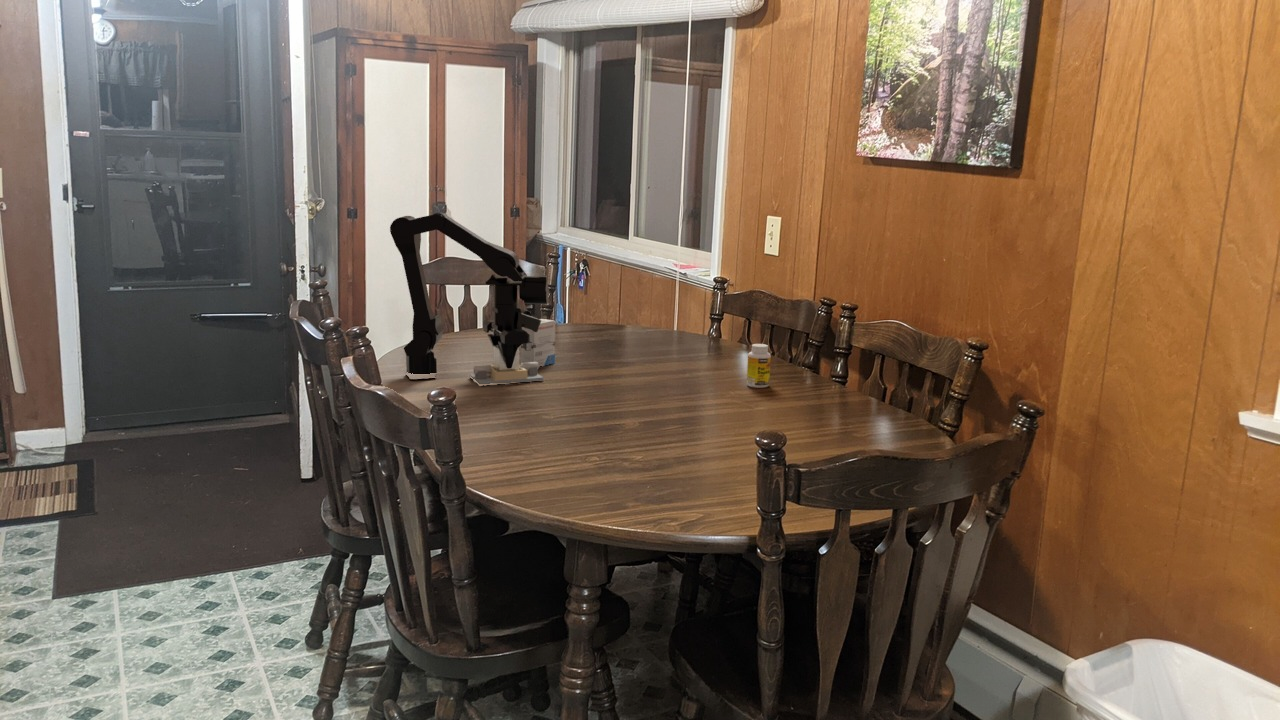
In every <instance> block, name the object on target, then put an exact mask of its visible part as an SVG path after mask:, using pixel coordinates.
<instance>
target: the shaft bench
mask: <svg viewBox="0 0 1280 720" xmlns="http://www.w3.org/2000/svg"><path fill="white" fill-rule="evenodd" d="M539 368H540V367H539V365H538V362H526V363H521V362H520V364H519V370H514V371H501V372H497V371H496V370H494V364H487V365H475V366H473V373H471V374H469V377H470V376H471V377H472V378H473V379H475V380H476V381H477V382H478V383H479V384H490V383H511V382H528V381H529V382H530V383H532V382H531V381H542V382H544V377H543V376H542V375H540V374H538V370H539Z"/></svg>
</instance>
